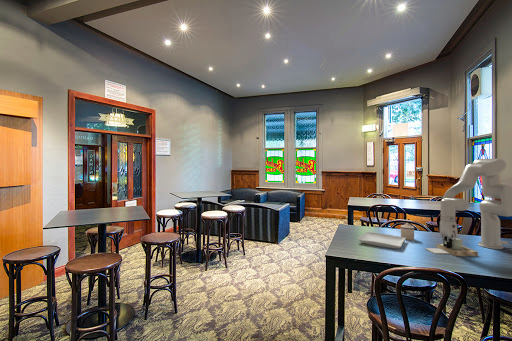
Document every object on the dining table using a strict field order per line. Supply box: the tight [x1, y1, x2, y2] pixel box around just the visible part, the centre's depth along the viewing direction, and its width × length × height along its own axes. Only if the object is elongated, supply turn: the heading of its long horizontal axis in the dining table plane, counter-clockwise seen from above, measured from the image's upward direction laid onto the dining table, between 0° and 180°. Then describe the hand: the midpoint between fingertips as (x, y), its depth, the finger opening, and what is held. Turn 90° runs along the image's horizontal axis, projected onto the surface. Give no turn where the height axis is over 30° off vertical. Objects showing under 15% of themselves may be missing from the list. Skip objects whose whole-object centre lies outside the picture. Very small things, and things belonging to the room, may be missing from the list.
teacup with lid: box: [400, 222, 415, 241], centre depth 193 cm, size 12×9×12 cm
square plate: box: [357, 231, 406, 249], centre depth 182 cm, size 27×27×4 cm
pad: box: [425, 247, 450, 255], centre depth 162 cm, size 9×9×1 cm
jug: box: [444, 237, 463, 250], centre depth 162 cm, size 10×6×8 cm, turn 88°
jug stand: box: [436, 243, 479, 257], centre depth 162 cm, size 14×16×2 cm
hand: (447, 246), depth 162 cm, fingers closed on jug
